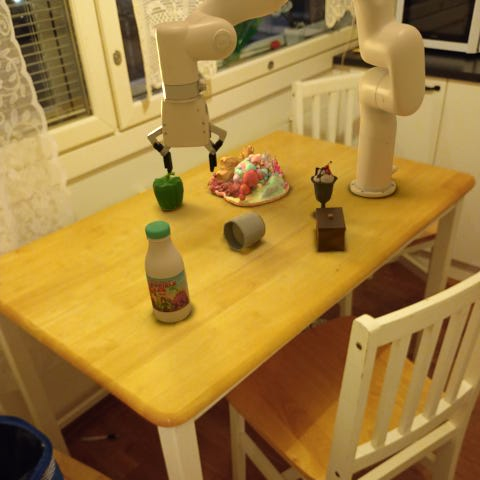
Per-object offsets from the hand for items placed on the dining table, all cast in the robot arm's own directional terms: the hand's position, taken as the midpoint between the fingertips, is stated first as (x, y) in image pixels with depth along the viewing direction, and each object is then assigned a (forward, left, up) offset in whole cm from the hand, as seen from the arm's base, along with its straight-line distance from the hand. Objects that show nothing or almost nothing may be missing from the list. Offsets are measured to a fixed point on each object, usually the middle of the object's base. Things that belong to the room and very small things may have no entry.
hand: (191, 170), depth 119 cm
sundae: (-30, +15, -19) cm, 39 cm away
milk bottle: (+23, +16, -19) cm, 34 cm away
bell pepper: (-10, -23, -19) cm, 31 cm away
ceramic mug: (-7, +8, -19) cm, 22 cm away
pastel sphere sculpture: (-33, -13, -19) cm, 40 cm away
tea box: (-20, +24, -19) cm, 37 cm away
